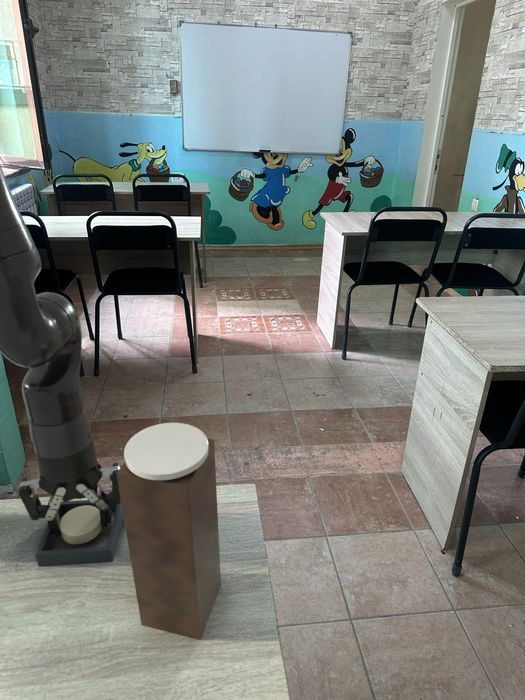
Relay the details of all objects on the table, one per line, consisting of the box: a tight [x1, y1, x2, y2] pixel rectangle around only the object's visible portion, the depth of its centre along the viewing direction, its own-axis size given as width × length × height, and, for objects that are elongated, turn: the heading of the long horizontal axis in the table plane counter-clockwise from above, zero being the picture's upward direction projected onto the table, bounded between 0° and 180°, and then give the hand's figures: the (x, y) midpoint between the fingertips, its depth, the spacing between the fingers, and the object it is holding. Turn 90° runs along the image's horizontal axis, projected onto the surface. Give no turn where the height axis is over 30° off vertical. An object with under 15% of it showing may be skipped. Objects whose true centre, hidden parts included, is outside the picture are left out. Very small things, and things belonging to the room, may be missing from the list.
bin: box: [35, 499, 124, 568], centre depth 73 cm, size 10×10×4 cm
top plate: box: [59, 505, 103, 545], centre depth 73 cm, size 6×6×2 cm
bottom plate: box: [123, 422, 209, 480], centre depth 52 cm, size 9×9×1 cm
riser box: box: [116, 437, 222, 641], centre depth 58 cm, size 8×8×26 cm
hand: (82, 528), depth 73 cm, fingers closed on top plate, 6 cm apart
